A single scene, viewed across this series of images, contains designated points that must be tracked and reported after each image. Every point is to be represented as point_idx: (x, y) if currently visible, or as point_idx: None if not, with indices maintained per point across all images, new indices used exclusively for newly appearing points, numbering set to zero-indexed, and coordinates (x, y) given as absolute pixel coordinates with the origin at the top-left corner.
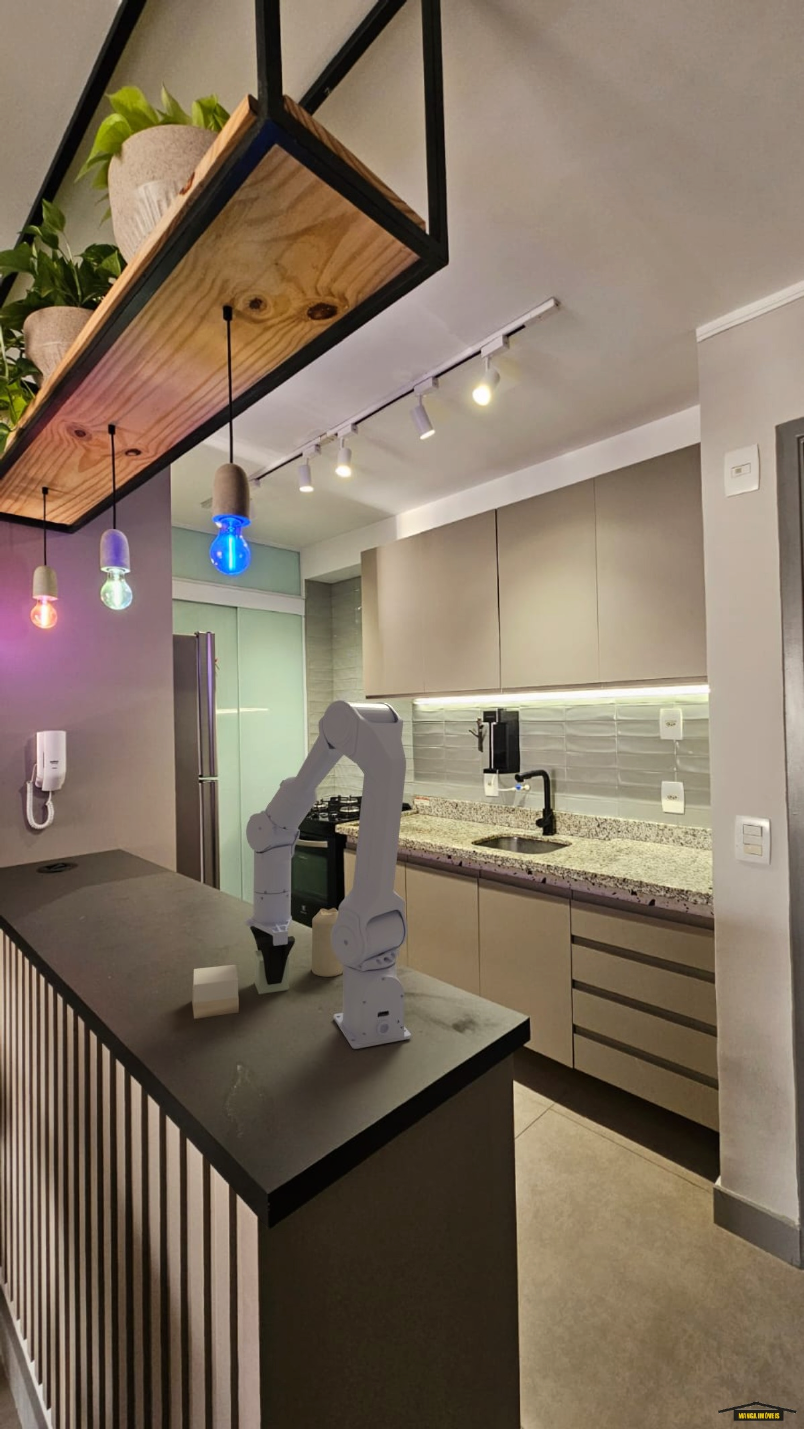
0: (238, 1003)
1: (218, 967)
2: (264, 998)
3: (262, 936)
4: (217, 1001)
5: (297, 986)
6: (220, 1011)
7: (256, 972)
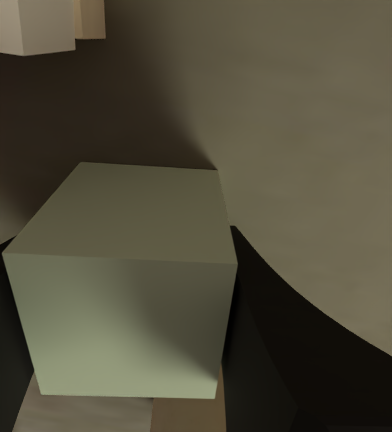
0: None
1: None
2: (28, 173)
3: (258, 407)
4: None
5: None
6: None
7: (154, 197)
